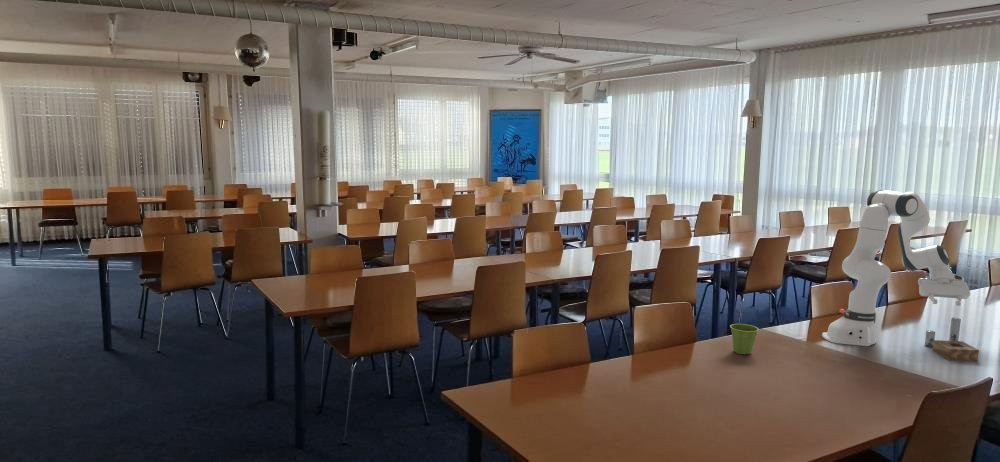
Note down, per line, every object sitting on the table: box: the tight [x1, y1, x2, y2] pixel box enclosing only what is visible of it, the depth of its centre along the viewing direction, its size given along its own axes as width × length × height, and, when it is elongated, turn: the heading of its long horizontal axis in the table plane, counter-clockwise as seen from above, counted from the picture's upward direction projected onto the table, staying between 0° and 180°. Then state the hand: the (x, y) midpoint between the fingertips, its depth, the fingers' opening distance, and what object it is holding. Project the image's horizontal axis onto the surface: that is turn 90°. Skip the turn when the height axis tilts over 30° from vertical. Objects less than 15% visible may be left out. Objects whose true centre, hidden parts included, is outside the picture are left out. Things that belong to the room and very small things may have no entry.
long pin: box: [948, 317, 962, 341], centre depth 295 cm, size 4×4×14 cm
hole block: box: [932, 339, 980, 362], centre depth 286 cm, size 12×12×5 cm
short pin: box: [924, 329, 936, 348], centre depth 299 cm, size 4×4×7 cm
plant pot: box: [729, 323, 760, 355], centre depth 286 cm, size 12×12×11 cm
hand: (946, 304), depth 305 cm, fingers open, 8 cm apart
